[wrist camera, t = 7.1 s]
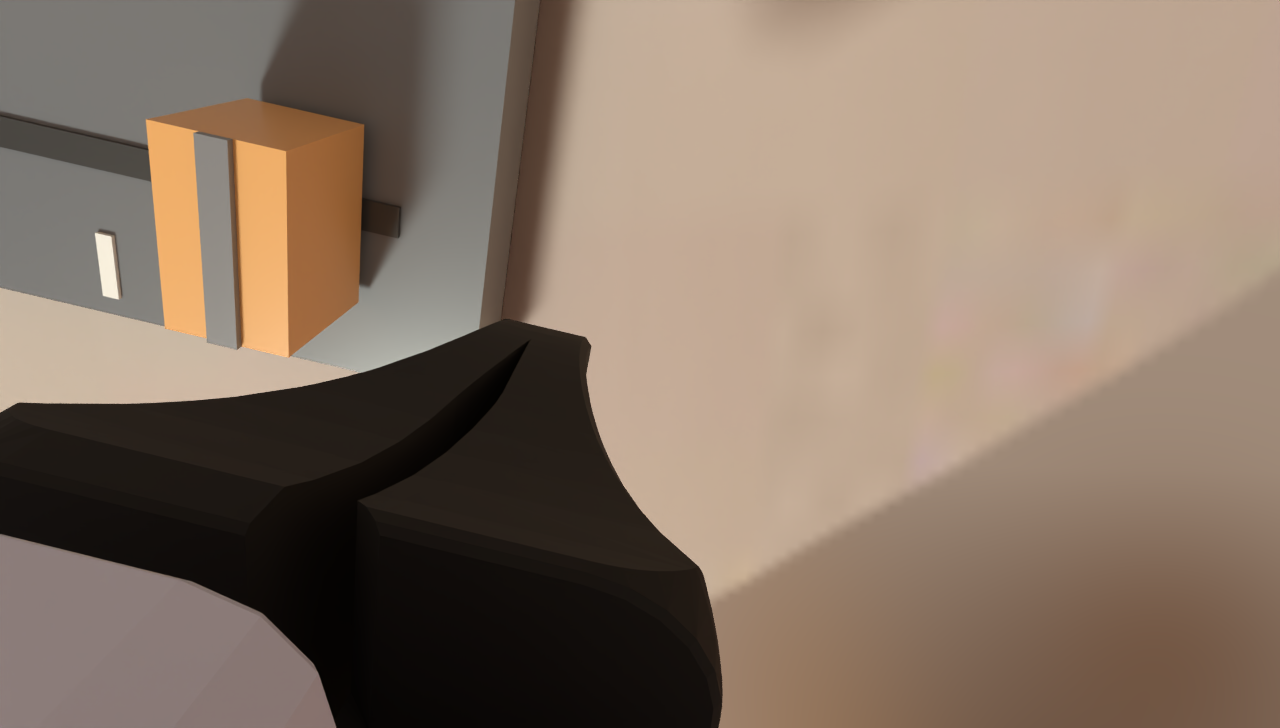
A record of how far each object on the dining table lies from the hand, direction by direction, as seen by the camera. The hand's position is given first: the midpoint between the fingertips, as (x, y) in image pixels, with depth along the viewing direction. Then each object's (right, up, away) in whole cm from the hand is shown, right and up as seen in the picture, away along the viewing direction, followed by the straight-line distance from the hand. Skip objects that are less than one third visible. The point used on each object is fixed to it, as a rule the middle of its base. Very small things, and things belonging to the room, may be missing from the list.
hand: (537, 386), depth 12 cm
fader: (-6, +4, +5) cm, 9 cm away
